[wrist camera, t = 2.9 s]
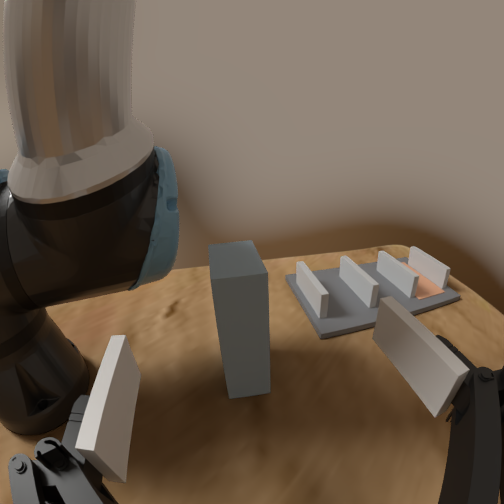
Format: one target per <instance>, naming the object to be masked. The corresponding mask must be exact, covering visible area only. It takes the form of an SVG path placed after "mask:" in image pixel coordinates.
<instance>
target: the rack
mask: <svg viewBox="0 0 504 504" xmlns="http://www.w3.org/2000/svg"><path fill="white" fill-rule="evenodd" d="M449 273H450V268H449V267H447V266H446V265H444V264H443V263H441V262H440V261H438V260H436V259H435V258H433V257H431V256H430V255H428V254H426V253H425V252H423V251H422V250H420V249H418V248H417V247H415V246H413V247H411V248H410V254H409V259H408V258H406V257H404V258H398V259H395V258H394V257H392V256H391V255H389V254H388V253H386V252H385V251H379V254H378V262H373V263H366V264H360V265H357V264H356V263H354V262H353V261H352V260H351V259H350V258H349V257H347V256H341V260H340V267H339V268H333V269H326V270H318V271H310V269H309V268H308V267H307V266H306V264H305V263H304V262H303V261H301V262H297V267H296V274H289V275H286V281H287V283H288V284H289V286H290V288H291V289H292V291H293V293H294V294H295V296H296V298H297V300H298V301H299V303H300V305H301V306H302V308H303V310H304V311H305V313H306V315H307V317H308V318H309V320H310V322H311V323H312V325H313V327H314V329H315V330H316V332H317V334H318V335H319V337H320V339H324V338H329V337H333V336H338V335H342V334H346V333H351V332H355V331H359V330H363V329H367V328H371V327H374V326H375V324H376V318H377V313H378V308H379V302H380V298H384V297H389V296H392V297H393V298H394V299H395V300H396V301H398V302H399V303H400V304H401V305H402V306H403V307H404V308H405V309H407V310H408V311H409V312H410V313H411V314H412V315H416V314H419V313H422V312H426V311H429V310H432V309H435V308H438V307H441V306H443V305H446V304H449V303H452V302H455V301H457V300H459V299H460V296H461V295H459V294H458V293H457V292H455V291H454V290H452V289H451V288H450V287H448V286H447V282H448V277H449Z"/></svg>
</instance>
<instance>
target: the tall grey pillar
mask: <svg viewBox="0 0 504 504" xmlns="http://www.w3.org/2000/svg"><path fill="white" fill-rule="evenodd" d="M208 247H209V264H210V278H211V287H212V294H213V301H214V309H215V316H216V322H217V329H218V336H219V342H220V348H221V355H222V361H223V367H224V373H225V379H226V384H227V390H228V395H229V399H233V398H240V397H247V396H254V395H260V394H266V393H271V391H270V334H269V293H268V272H267V270H266V268H265V266H264V264H263V262H262V260H261V258H260V256H259V254H258V252H257V250H256V248H255V246H254V244H253V242H252V241H251V240H250V241H241V242H231V243H221V244H213V245H208Z"/></svg>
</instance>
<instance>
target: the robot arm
mask: <svg viewBox="0 0 504 504" xmlns="http://www.w3.org/2000/svg"><path fill="white" fill-rule="evenodd" d="M135 6H136V0H5V2H4V17H3V54H4V69H5V80H6V88H7V95H8V103H9V109H10V114H11V119H12V125H13V129H14V134H15V138H16V142H17V147H18V153H17V155H16V158H15V159H14V162H13V164H12V166H11V168H10V171H8V170H7V169H1V170H0V422H1V423H2V424H3V425H4V426H5V427H6V428H8V429H9V430H11V431H13V432H15V433H18V434H23V435H35V434H41V433H44V432H47V431H50V430H52V429H54V428H56V427H57V426H59V425H61V424H62V423H63V422H65V421H66V420H67V419H68V418H69V422H68V423H67V426H66V429H65V433H64V436H63V439H62V443H61V442H60V441H59V440H57V439H55V438H52V437H47V438H43V439H42V440H40V441H39V442H38V443H37V445H36V446H35V451H34V454H35V458H36V459H37V460H31V459H30V458H29V457H28V456H26V455H24V454H16V455H14V456H13V457H12V458H11V459H10V461H9V466H8V469H9V478H10V486H11V493H12V499H13V504H118V502H117V501H116V500H115V499H114V497H113V496H112V495H111V493H110V492H109V491H108V489H107V488H106V487H105V485H104V484H103V483H102V477H103V476H104V477H105V478H106V479H107V480H108V481H113V482H121V483H126V476H127V466H128V457H129V449H130V441H131V433H132V426H133V420H134V413H135V407H136V401H137V395H138V390H139V384H140V379H141V373H140V371H139V368H138V366H137V363H136V361H135V358H134V356H133V353H132V351H131V348H130V345H129V343H128V340H127V337H126V335H116V336H112V337H111V339H110V342H109V344H108V347H107V349H106V352H105V355H104V357H103V360H102V363H101V365H100V368H99V371H98V374H97V377H96V380H95V382H94V385H93V388H92V391H91V394H90V396H89V395H86V392H87V389H88V384H89V372H88V368H87V365H86V363H85V361H84V359H83V357H82V355H81V353H80V351H79V350H78V348H77V347H76V346H75V345H74V343H73V342H71V341H70V340H69V339H67V338H66V337H65V336H64V334H63V333H62V331H61V330H60V329H59V327H58V326H57V325H56V324H55V323H54V321H53V320H52V319H51V318H50V317H49V315H48V313H47V311H46V309H45V307H48V306H53V305H58V304H63V303H68V302H73V301H78V300H83V299H88V298H92V297H97V296H102V295H107V294H112V293H116V292H121V291H126V290H128V291H130V290H134V289H136V288H137V287H139V286H141V285H144V284H147V283H151V282H154V281H158V280H160V279H162V278H164V277H165V276H167V275H168V274H169V272H170V271H171V269H172V267H173V265H174V263H175V260H176V255H177V249H178V241H179V211H178V208H177V205H176V204H177V198H178V190H177V189H178V188H177V179H176V173H175V169H174V164H173V161H172V158H171V156H170V154H169V152H168V151H167V150H165V149H164V148H159V147H157V146H155V147H154V137H153V133H152V131H151V130H150V129H149V128H148V127H147V126H146V125H144V124H143V123H142V122H140V121H139V120H137V119H136V118H135V117H133V116H132V95H131V76H132V75H131V72H132V71H131V70H132V44H133V43H132V42H133V27H134V16H135ZM372 339H373V340H374V341H375V342H376V344H377V345H378V346H379V347H380V349H381V350H382V351H383V352H384V354H385V355H386V356H387V357H388V358H389V360H390V361H391V362H392V363H393V365H394V366H395V367H396V368H397V370H398V371H399V372H400V373H401V375H402V376H403V377H404V379H405V380H406V381H407V382H408V384H409V385H410V386H411V387H412V389H413V390H414V391H415V393H416V394H417V395H418V396H419V398H420V399H421V400H422V402H423V403H424V404H425V406H426V407H427V408H428V409H429V411H430V412H431V413H432V415H433V416H434V417H437V416H439V415H440V414H442V413H444V412H445V411H446V410H447V409H448V407H449V406H450V404H451V403H452V404H453V405H454V408H453V409H452V411H451V412H450V414H449V415H448V417H447V419H446V422H448V420H449V419H450V417H451V416H452V419H451V421H450V422H451V431H450V441H449V449H448V456H447V463H446V469H445V474H444V480H443V484H442V489H441V493H440V498H439V502H438V504H497V503H498V496H499V488H500V499H501V504H504V366H503V368H502V369H500V370H496V371H492V370H491V369H489V368H486V367H479V368H477V367H475V366H474V365H473V364H472V363H471V362H470V361H469V360H468V359H467V358H466V357H465V356H464V355H463V354H462V353H461V352H460V351H458V349H457V348H456V347H455V346H454V347H453V344H451V343H450V342H449V341H448V340H447V339H446V338H444V337H442V336H440V335H437V336H435V335H434V334H433V333H432V332H431V331H429V330H428V329H427V328H426V327H425V326H424V325H423V324H422V323H421V322H420V321H419V320H418V319H416V318H415V317H414V316H413V315H412V314H411V313H410V312H409V311H408V310H407V309H405V308H404V307H403V306H402V305H401V304H400V303H399V302H398V301H396V300H395V299H394V298H393V297H392V296H389V297H384V298H380V302H379V308H378V313H377V318H376V324H375V328H374V333H373V338H372Z"/></svg>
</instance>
